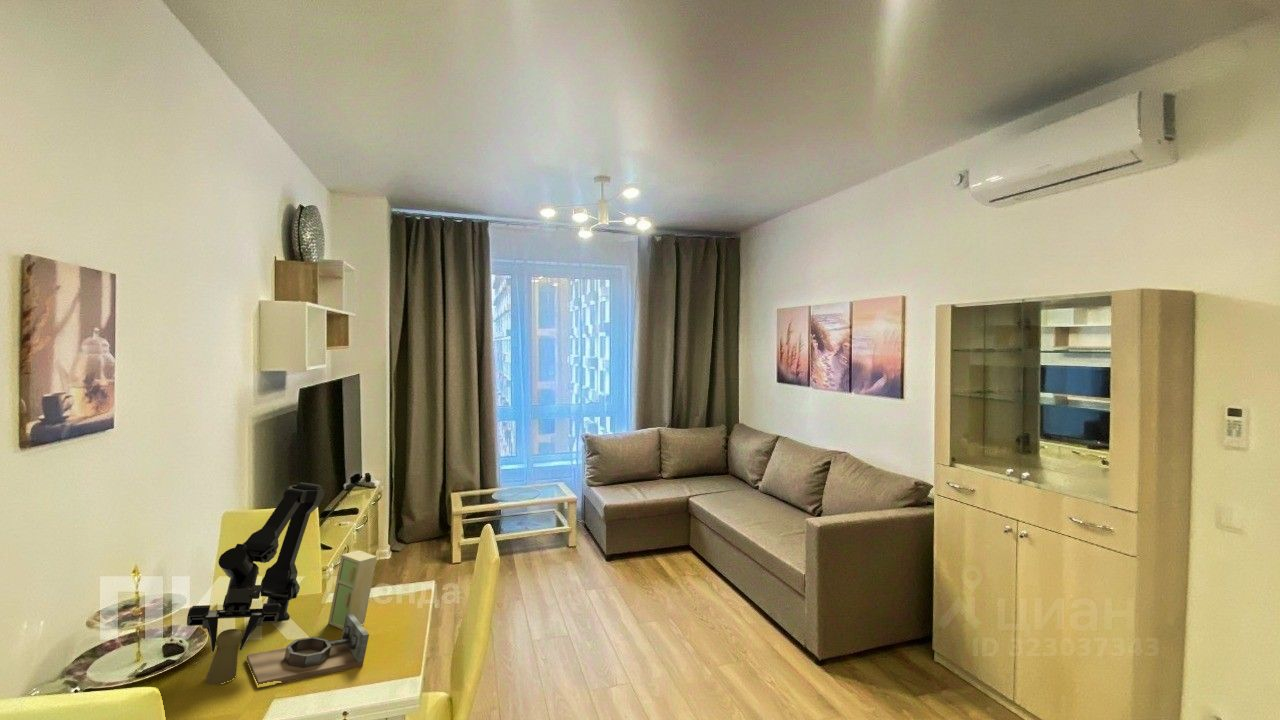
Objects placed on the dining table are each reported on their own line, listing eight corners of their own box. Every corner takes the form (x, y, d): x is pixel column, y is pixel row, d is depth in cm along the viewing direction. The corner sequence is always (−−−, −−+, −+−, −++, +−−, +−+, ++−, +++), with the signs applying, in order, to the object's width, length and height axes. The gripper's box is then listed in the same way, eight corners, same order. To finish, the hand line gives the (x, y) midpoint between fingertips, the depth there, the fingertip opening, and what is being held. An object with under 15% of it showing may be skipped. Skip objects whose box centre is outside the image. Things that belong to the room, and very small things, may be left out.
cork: (219, 687, 131) (229, 639, 131) (198, 679, 132) (209, 632, 132) (242, 675, 136) (252, 630, 137) (222, 668, 138) (232, 623, 138)
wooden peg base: (245, 660, 143) (253, 627, 143) (345, 642, 159) (352, 612, 160) (257, 688, 133) (265, 652, 133) (362, 666, 149) (369, 634, 150)
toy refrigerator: (324, 624, 167) (339, 554, 169) (345, 616, 174) (359, 549, 175) (343, 633, 164) (358, 561, 166) (364, 625, 171) (378, 556, 172)
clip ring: (281, 652, 146) (285, 633, 146) (346, 641, 157) (349, 623, 158) (290, 670, 139) (294, 650, 140) (357, 657, 150) (361, 638, 151)
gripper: (197, 572, 134) (178, 640, 124) (288, 571, 144) (276, 635, 133) (196, 592, 140) (177, 658, 130) (282, 590, 150) (271, 652, 140)
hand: (226, 650), depth 133 cm, fingers closed on cork, 5 cm apart
